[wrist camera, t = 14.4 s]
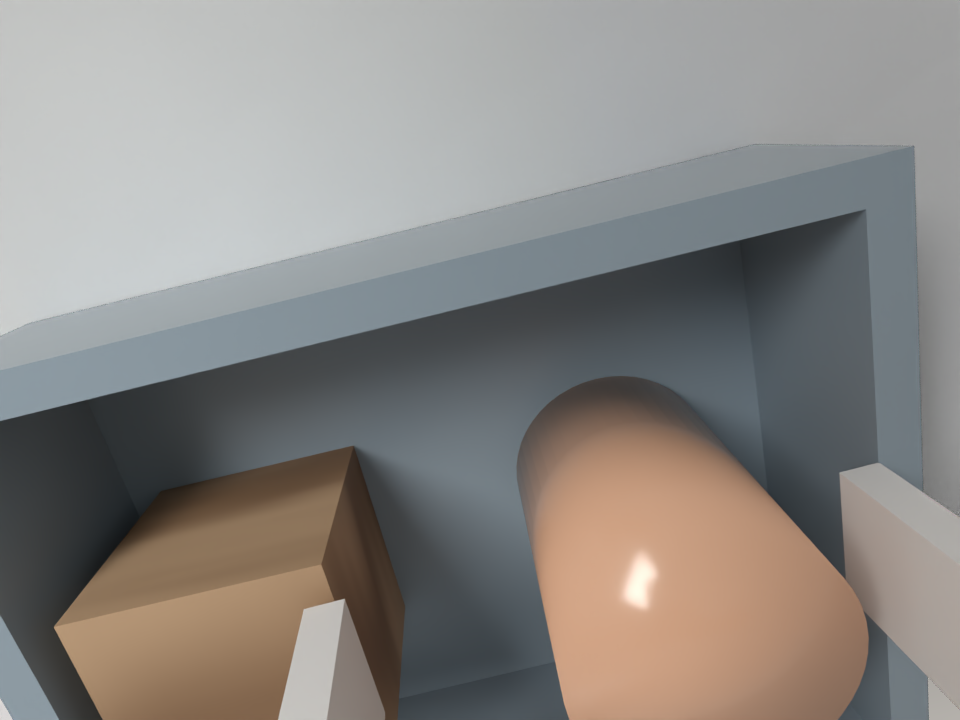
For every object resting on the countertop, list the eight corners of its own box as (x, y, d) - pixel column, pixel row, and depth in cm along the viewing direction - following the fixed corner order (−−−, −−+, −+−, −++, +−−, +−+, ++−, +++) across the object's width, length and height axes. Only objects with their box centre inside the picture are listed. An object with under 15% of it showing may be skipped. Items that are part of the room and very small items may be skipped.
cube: (160, 491, 17) (53, 627, 12) (353, 445, 17) (320, 564, 12) (228, 647, 19) (156, 822, 14) (405, 606, 18) (394, 767, 14)
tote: (29, 323, 16) (-170, 412, 11) (755, 144, 16) (914, 145, 10) (228, 748, 20) (155, 958, 15) (801, 612, 20) (930, 780, 15)
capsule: (497, 402, 17) (533, 579, 10) (695, 355, 17) (862, 504, 10) (537, 566, 18) (590, 812, 12) (717, 525, 18) (873, 750, 12)
